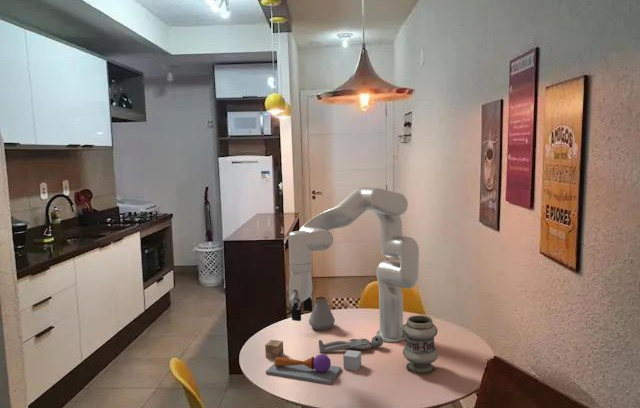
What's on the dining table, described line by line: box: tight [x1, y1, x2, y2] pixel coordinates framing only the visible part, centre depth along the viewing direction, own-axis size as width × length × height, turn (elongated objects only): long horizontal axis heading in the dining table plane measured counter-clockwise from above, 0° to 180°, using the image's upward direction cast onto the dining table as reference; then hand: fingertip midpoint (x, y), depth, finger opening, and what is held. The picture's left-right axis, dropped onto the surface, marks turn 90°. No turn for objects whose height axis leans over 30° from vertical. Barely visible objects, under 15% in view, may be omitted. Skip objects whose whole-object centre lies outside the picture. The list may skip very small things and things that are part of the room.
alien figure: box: [318, 335, 384, 354], centre depth 181 cm, size 8×5×25 cm
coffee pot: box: [285, 293, 336, 331], centre depth 204 cm, size 21×12×15 cm, turn 87°
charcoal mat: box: [265, 362, 342, 385], centre depth 163 cm, size 24×11×1 cm, turn 68°
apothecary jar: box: [402, 314, 439, 376], centre depth 162 cm, size 12×12×18 cm
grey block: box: [342, 349, 362, 372], centre depth 166 cm, size 5×5×5 cm
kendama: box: [274, 353, 332, 373], centre depth 163 cm, size 6×6×20 cm
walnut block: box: [264, 339, 284, 360], centre depth 177 cm, size 5×5×5 cm
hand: (302, 315), depth 161 cm, fingers open, 9 cm apart
